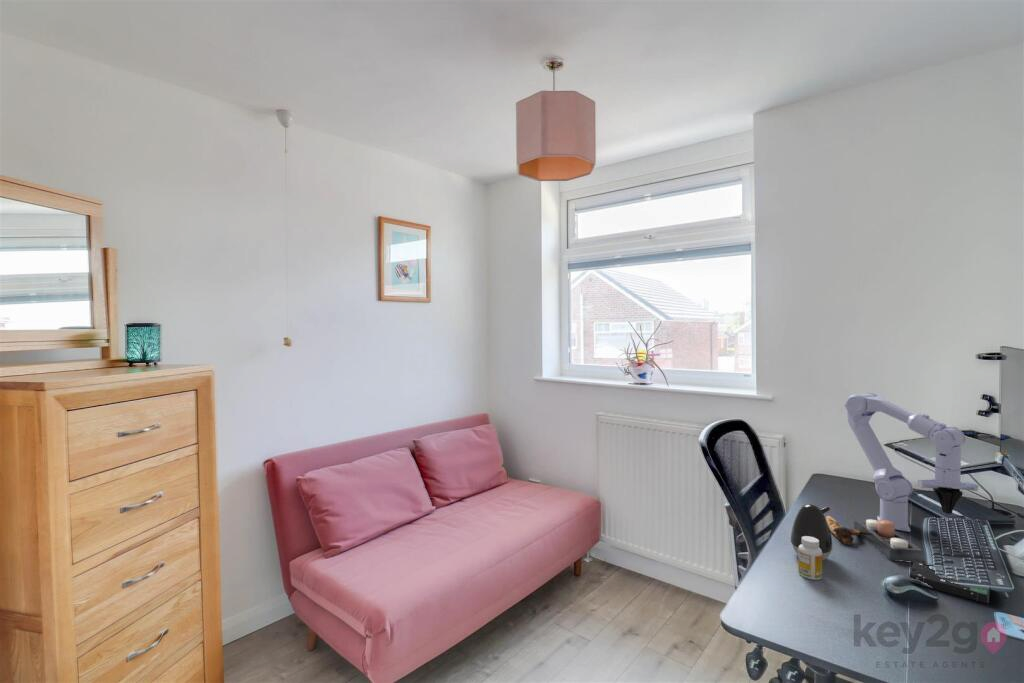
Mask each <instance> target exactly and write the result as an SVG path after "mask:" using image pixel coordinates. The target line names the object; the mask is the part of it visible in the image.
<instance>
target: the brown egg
mask: <svg viewBox="0 0 1024 683" xmlns="http://www.w3.org/2000/svg"><path fill="white" fill-rule="evenodd" d="M877 521H878V535H879V536H881V537H892V538H894V530H895V531H896V529H895V524H894V523H893V522H891V521H887V520H878V519H877Z"/></svg>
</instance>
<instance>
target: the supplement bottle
mask: <svg viewBox="0 0 1024 683" xmlns="http://www.w3.org/2000/svg"><path fill="white" fill-rule="evenodd" d="M801 542H802V544H801V545H799V548H798V554H797V555H798V556H797V558H798V565H797V569H798V574H799V575H800V576H801V577H803V578H805V579H808V580H812V581H814V580H815V581H818V580H821V579H822V578H823V561H822V550H821V549H820V548H819V540H818V539H816V538H814V537H810V536H803V537H802V540H801Z"/></svg>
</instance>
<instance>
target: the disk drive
mask: <svg viewBox="0 0 1024 683" xmlns="http://www.w3.org/2000/svg"><path fill="white" fill-rule="evenodd" d="M929 566H934V565H932V564H928V563H924V562H923V563H921V562H917V561H914V562H912V566H911V570H910V571H909V574H908V578H909V577H910V578H913V579H917V580H920V581H922V582H924V583H927V584H928V585H930V586H932V587H933V588H935V589H934V590H937V591H939V592H944V593H947V594H950V593H951V595H954V594H955V595H954V596H957V595H959V596H958V597H961V596H963V597H962V598H964V597H967V598H966V599H968V598H970V599H969V600H971V599H973V600H972V601H974V600H976V602H978V601H981V602H980V603H982V602H985V603H990V590H982V589H977V588H972V587H966V586H963V585H962V586H961V585H959V584H955V583H951V582H949V581H947V580H946V581H945V580H943V579H941V577H939V576H937V575H936V573H935V570H933V569H930V568H929ZM985 603H984V604H985Z"/></svg>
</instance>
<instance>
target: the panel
mask: <svg viewBox="0 0 1024 683" xmlns="http://www.w3.org/2000/svg"><path fill="white" fill-rule="evenodd" d="M866 520H867V519H854V520H853V522H854V523H853V530H858V531H860V534H859V535H858V536H860V535H861V538H863V539H864V540H865V541H866V542H867V541H868V544H870V546H872V545H873V546H874V547H873V546H872V547H873V548H875V549H876V550H877V549H878V550H879V551H880V552H881V553H880V552H879V551H878V550H877V551H878V552H879V553H880V554H881V555H883V554H884V555H885V556H886V557H887V558H888V559H887V558H886V557H885V556H884V555H883V556H884V557H885V558H886V559H887V560H889V561H890V560H903V561H911V562H910V563H914V561H917V562H921V563H924V561H923V559H924V550H923V549H921V548H920V547H918V546H917V545H915V544H914V543H913V542H912V541H910V540H909V539H908V538H906V537H905V536H903V535H902V534H900V533H899V532H898V531H896V529H895V530H894V538H900V539H903V540H906V541H907V542H908V548H899V547H893V546H892V545H891V544H890V539H891V538H892V537H881V536H879V535H878V528H872V527H868V526H867V525H866Z"/></svg>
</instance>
